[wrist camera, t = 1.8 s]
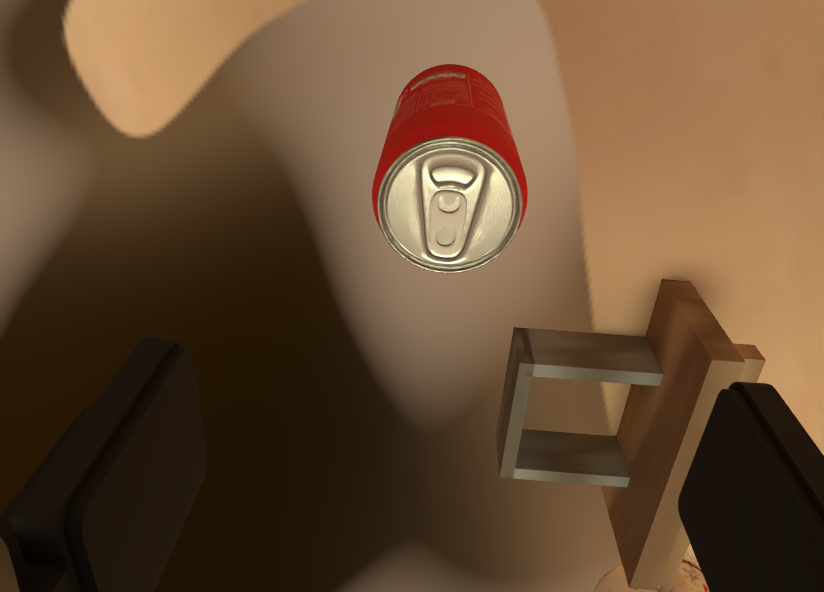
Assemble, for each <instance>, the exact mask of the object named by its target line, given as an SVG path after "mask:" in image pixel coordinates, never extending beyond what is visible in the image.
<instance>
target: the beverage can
mask: <svg viewBox="0 0 824 592" xmlns="http://www.w3.org/2000/svg"><path fill="white" fill-rule="evenodd" d="M372 201H373V209H374V213H375V216H376V220H377V222H378V225H379V227H380V229H381V230H382V232H383V234H384V236H385V238H386V239H387V241H388V242H389V244H390V245H391V246H392V248H393V249H394V250H395V251H396V252H397V253H398V254H399V255H400V256H401V257H403V258H404V259H405V260H407V261H408V262H410V263H412V264H414V265H415V266H418V267H420V268H423V269H425V270H428V271H432V272H438V273H460V272H465V271H470V270H473V269H476V268H478V267H481V266H483V265H485V264H486V263H489V262H490V261H492V260H493V259H494V258H496V257H498V256H499V255H500V254H502V253H503V252H504V250H505V249H506V248H507V247H508V245H509V244H510V242H511V241H512V239H513V238H514V236H515V234H516V232H517V230H518V228H519V227H520V225H521V223H522V220H523V217H524V214H525V210H526V205H527V183H526V178H525V175H524V171H523V168H522V164H521V162H520V158H519V155H518V152H517V148H516V145H515V142H514V139H513V136H512V132H511V129H510V126H509V123H508V120H507V116H506V113H505V110H504V107H503V104H502V101H501V98H500V96H499V94H498V92H497V91H496V89H495V87H494V86H493V85H492V83H491V82H490V81H489V80H488V79H487V78H486V77H484V76H483V75H482V74H481V73H479V72H477V71H475V70H473V69H471V68H468V67H465V66H461V65H454V64H453V65H452V64H448V65H447V64H446V65H439V66H436V67H432V68H429V69H427V70H425V71H423V72H422V73H420V74H418V75H417V76H416V77H414V78H413V79H412V80H411V81H410V82H409V83H408V84H407V86H406V87H405V88H404V90H403V91H402V93H401V95H400V97H399V99H398V102H397V105H396V108H395V111H394V115H393V118H392V121H391V125H390V128H389V131H388V135H387V138H386V141H385V144H384V148H383V151H382V154H381V158H380V161H379V164H378V167H377V171H376V175H375V178H374V182H373V189H372Z"/></svg>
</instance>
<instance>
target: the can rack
mask: <svg viewBox="0 0 824 592" xmlns="http://www.w3.org/2000/svg"><path fill="white" fill-rule="evenodd" d="M765 361H766V360H765V359H764V357H763V356H762V355H761V353H760V352H759V351H758V349H757V348H756V347H755V345H745V344H733V343H732V342H731V340H730V339H729V337H728V336H727V334H726V333H725V332H724V330H723V329H722V327H721V326H720V324H719V323H718V321H717V320H716V319H715V317H714V316H713V314H712V313H711V311H710V310H709V308H708V307H707V306H706V304H705V303H704V301H703V300H702V298H701V297H700V295H699V294H698V292H697V291H696V290H695V288H694V287H693V285H692V284H691V282H687V281H673V280H662V283H661V287H660V290H659V294H658V297H657V300H656V304H655V307H654V311H653V314H652V318H651V321H650V324H649V328H648V331H647V335H646V337H633V336H620V335H607V334H594V333H580V332H568V331H555V330H542V329H528V328H515V327H514V331H513V336H512V342H511V348H510V354H509V360H508V366H507V373H506V379H505V384H504V390H503V397H502V403H501V408H500V415H499V421H498V426H497V433H496V444H497V455H498V466H499V476H500V477H504V478H515V479H529V480H540V481H553V482H554V481H555V482H565V483H578V484H590V485H602V492H603V495H604V499H605V502H606V506H607V510H608V514H609V517H610V521H611V524H612V528H613V531H614V535H615V539H616V542H617V546H618V550H619V554H620V557H621V561H622V564H623V568H624V572H625V575H626V579H627V583H628V586H629V588H633V589H645V590H656V588H657V586H664V587H672V584H673V582H674V580H675V577H676V575H677V572H678V570H679V568H680V565H681V563H682V560H683V558H684V556H685V553H686V551H687V548H688V546H689V544H690V541H689V539H688V536H687V534H686V531H685V529H684V526H683V524H682V521H681V519H680V516H679V511H678V498H679V495H680V492H681V489H682V487H683V484H684V482H685V479H686V476H687V474H688V471H689V469H690V466H691V463H692V461H693V458H694V456H695V453H696V450H697V448H698V445H699V443H700V440H701V437H702V435H703V432H704V430H705V427H706V424H707V422H708V419H709V417H710V414H711V411H712V409H713V406H714V404H715V401H716V398H717V396H718V394H719V392H720V391H721V390H722V389H728V388H729V386H730V385H731V384H732V383H733V382H751V383H756V382H757V380H758V378H759V375H760V373H761V370H762V368H763V366H764V363H765ZM533 376H535V377H549V378H561V379H574V380H587V381H600V382H612V383H625V384H632V386H631V389H630V393H629V396H628V399H627V403H626V406H625V410H624V413H623V417H622V420H621V423H620V427H619V430H618V434H617V437H614V436H601V435H588V434H576V433H563V432H549V431H537V430H524V429H523V424H524V418H525V413H526V408H527V403H528V398H529V392H530V387H531V381H532V377H533Z"/></svg>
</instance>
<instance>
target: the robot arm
mask: <svg viewBox="0 0 824 592" xmlns="http://www.w3.org/2000/svg"><path fill="white" fill-rule="evenodd" d="M206 459H207V458H206V450H205V443H204V436H203V428H202V421H201V414H200V406H199V399H198V393H197V384H196V377H195V370H194V363H193V356H192V351H191V349H190V348H188V347H183V346H182V343H181V341H180V340H179V339H176V338H164V337H150V336H147V337H144V338H143V339H142V340H141V341H140V342H139V344H138V345H137V346H136V348H135V349H134V350H133V352H132V353H131V354H130V356H129V357H128V358H127V360H126V361H125V362H124V364H123V365H122V366H121V368H120V369H119V371H118V372H117V373H116V375H115V376H114V377H113V378H112V380H111V381H110V382H109V384H108V385H107V386H106V388H105V389H104V391H103V392H102V393H101V395H100V396H99V397H98V399H97V400H96V401H95V403H94V404H93V405H92V407H88V408H85V409H83V410H82V411H81V412H80V413H79V415H77V416H76V418H75V419H74V420H73V422H72V423H71V425H70V426H69V427H68V428H67V430H66V431H65V432H64V434H63V435H62V436H61V438H60V439H59V440H58V441H57V443H56V444H55V445H54V447H53V448H52V449H51V451H50V452H49V453H48V455H47V456H46V457H45V458H44V460H43V461H42V462H41V464H40V465H39V466H38V468H37V469H36V471H35V472H34V473H33V474H32V476H31V477H30V478H29V480H28V481H27V482H26V483H25V485H24V486H23V487H22V489H21V490H20V491H19V493H18V494H17V495H16V497H15V498H14V499H13V500H12V502H11V503H10V504H9V506H8V507H7V508H6V510H5V511H4V512H3V514H2V515H1V516H0V592H154V590H155V588H156V586H157V583H158V581H159V579H160V577H161V574H162V572H163V569H164V567H165V565H166V563H167V561H168V558H169V556H170V554H171V552H172V549H173V547H174V545H175V543H176V540H177V538H178V536H179V533H180V531H181V529H182V527H183V525H184V522H185V520H186V518H187V515H188V513H189V511H190V509H191V506H192V504H193V502H194V499H195V497H196V495H197V493H198V491H199V488H200V486H201V484H202V481H203V479H204V476H205V472H206V465H207V460H206ZM678 511H679V516H680V519H681V521H682V524H683V526H684V529H685V531H686V534H687V536H688V539H689V541H690V544H691V546H692V549H693V551H694V554H695V556H696V558H697V561H698V563H699V566H700V568H701V571H702V573H703V576H704V578H705V581H706V583H707V586H708V588H709V591H710V592H824V455H823V454H822V453H821V451H820V450H819V449H818V447H817V446H816V444H815V443H814V442H813V440H812V439H811V438H810V436H809V435H808V433H807V432H806V431H805V429H804V428H803V426H802V425H801V424H800V422H799V421H798V420H797V418H796V417H795V415H794V414H793V413H792V411H791V410H790V409H789V407H788V406H787V404H786V403H785V402H784V400H783V399H782V397H781V396H780V395H779V393H778V392H777V391H776V389H775V388H774V387H773V386H772V385H769V384H764V383H751V382H733V383H732V384H731V385H730V386H729V388H728V389H722V390H721V391H720V392H719V394H718V396H717V398H716V401H715V404H714V406H713V409H712V411H711V414H710V417H709V419H708V422H707V424H706V427H705V430H704V432H703V435H702V437H701V440H700V443H699V445H698V448H697V450H696V453H695V456H694V458H693V461H692V463H691V466H690V469H689V471H688V474H687V476H686V479H685V482H684V484H683V487H682V489H681V492H680V495H679V498H678Z"/></svg>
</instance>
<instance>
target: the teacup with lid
mask: <svg viewBox="0 0 824 592" xmlns="http://www.w3.org/2000/svg"><path fill="white" fill-rule="evenodd" d="M594 592H710V591H709V588H708V586H707V583H706V581H705V578H704V576H703V574H702V573H701V572H700V571H699V570H698V569H696V568H695V567H693V566H691V565H689V564H687V563H685V562H682V563H681V565H680V568H679V570H678V572H677V575H676V577H675V580H674V582H673V584H672V587H664V586H657V588H656V590H645V589H633V588H629V586H628V583H627V579H626V575H625V572H624V568H623V565H620V566H618V567H616V568H615V569H613V570H611V571H610V572H608V573H607V574H606V575H605V576H604V577H603V578H602V579H601V580H600V581H599V583H598V584H597V586H596V588H595V590H594Z"/></svg>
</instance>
